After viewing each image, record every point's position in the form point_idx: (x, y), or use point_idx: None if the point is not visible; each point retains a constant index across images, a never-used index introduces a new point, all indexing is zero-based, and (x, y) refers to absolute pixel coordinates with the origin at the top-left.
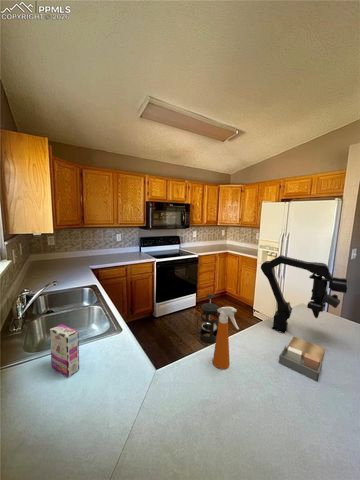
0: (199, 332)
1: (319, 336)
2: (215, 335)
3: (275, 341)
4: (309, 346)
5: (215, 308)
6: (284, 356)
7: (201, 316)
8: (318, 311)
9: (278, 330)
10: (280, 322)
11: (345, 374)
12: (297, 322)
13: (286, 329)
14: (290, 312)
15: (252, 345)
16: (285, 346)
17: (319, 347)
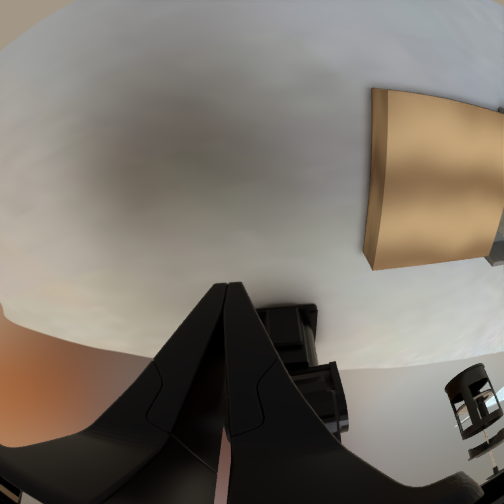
0: (475, 393)
1: (157, 157)
2: (456, 380)
3: (414, 298)
4: (431, 176)
5: (499, 443)
6: (498, 239)
7: (488, 426)
8: (301, 406)
9: (315, 327)
10: (317, 364)
11: (468, 14)
12: (116, 294)
13: (292, 314)
14: (335, 423)
15: (467, 324)
16: (496, 264)
17: (403, 121)
